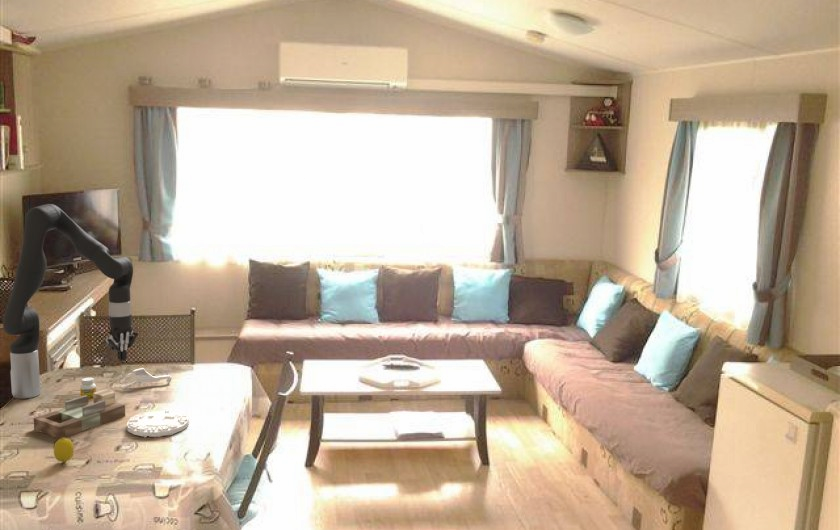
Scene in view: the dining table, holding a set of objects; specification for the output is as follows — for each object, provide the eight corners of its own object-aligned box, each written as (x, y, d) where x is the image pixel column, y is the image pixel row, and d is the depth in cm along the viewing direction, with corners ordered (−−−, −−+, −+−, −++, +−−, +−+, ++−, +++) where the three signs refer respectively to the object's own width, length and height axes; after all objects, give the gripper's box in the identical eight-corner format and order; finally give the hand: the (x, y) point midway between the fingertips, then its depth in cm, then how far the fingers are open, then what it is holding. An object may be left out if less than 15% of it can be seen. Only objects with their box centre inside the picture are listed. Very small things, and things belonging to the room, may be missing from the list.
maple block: (93, 403, 263) (93, 393, 263) (106, 399, 268) (105, 389, 267) (102, 406, 261) (102, 395, 260) (115, 402, 265) (114, 392, 264)
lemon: (58, 458, 228) (57, 434, 227) (77, 458, 229) (76, 434, 227) (51, 466, 223) (49, 441, 221) (70, 466, 223) (69, 441, 222)
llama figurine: (129, 403, 293) (173, 382, 299) (116, 379, 289) (161, 358, 295) (129, 402, 295) (173, 380, 300) (116, 377, 291) (161, 356, 297)
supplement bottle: (95, 400, 278) (94, 375, 276) (98, 405, 273) (97, 380, 272) (79, 403, 275) (78, 378, 273) (82, 407, 270) (81, 382, 269)
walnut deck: (34, 429, 250) (32, 409, 248) (99, 407, 271) (98, 389, 270) (60, 438, 243) (58, 418, 241) (125, 415, 264) (124, 396, 263)
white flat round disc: (200, 422, 262) (200, 414, 261) (163, 442, 243) (163, 434, 243) (152, 413, 268) (152, 405, 267) (113, 432, 249) (113, 424, 249)
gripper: (129, 308, 273) (130, 354, 276) (97, 315, 262) (99, 363, 265) (142, 311, 270) (144, 358, 272) (111, 318, 258) (113, 366, 261)
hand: (122, 360), depth 269 cm, fingers closed
